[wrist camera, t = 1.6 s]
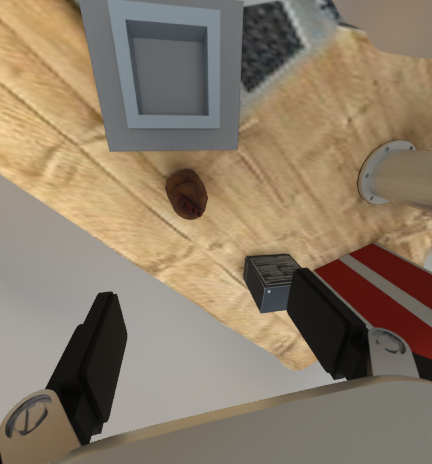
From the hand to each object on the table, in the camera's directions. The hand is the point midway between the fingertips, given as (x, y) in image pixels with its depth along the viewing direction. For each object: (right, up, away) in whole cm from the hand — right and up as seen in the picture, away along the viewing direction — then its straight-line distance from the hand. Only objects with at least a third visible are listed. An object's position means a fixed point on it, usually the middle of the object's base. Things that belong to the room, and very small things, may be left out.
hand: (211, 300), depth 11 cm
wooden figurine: (-5, +12, +25) cm, 28 cm away
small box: (+12, -4, +36) cm, 38 cm away
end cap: (-6, +25, +19) cm, 32 cm away
